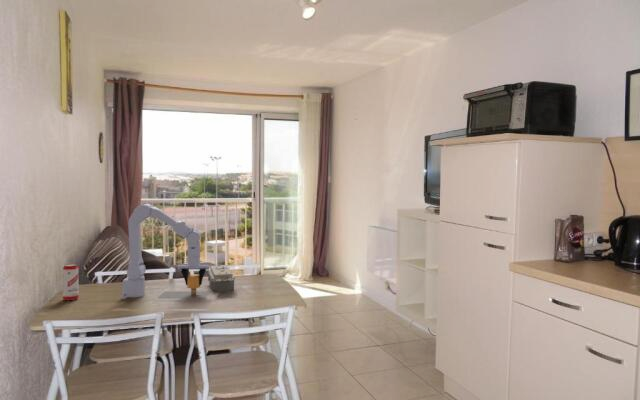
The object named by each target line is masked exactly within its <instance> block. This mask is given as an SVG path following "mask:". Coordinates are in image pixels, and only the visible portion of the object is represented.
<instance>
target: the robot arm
mask: <svg viewBox="0 0 640 400" xmlns="http://www.w3.org/2000/svg"><path fill="white" fill-rule="evenodd" d="M148 218H150V219H158V220H160V221H161V222H163V223H165V224H167V225H168V226H170V227H171V228H172V231H173V232H174V233H176V234H177V235H178V236H180V237H182V238H183V239H186V241H187V264H178V265H177V270H181V271H180V272H181V274H182V276H183V279H184V281H185V285H186V286H187V277H188V275H189V271H190V270H198V275H199V285H200V286H202V283H203V279H204V276H205V274H206V271H208V270H210V266H211V265H210V264H201V240H200V239H201V236H202V235H201V233H200V232H199V230H197V229H195V227H190V226H189V225H188V224H186V221H184V220H183V221H182V220H179V221H178V220H176V219H174V218H172V217H171V216H170V215H168V213H165V212H164V211H163V210H162V209H160V208H158V206H155V205H153V204H151V203H145V204H142V203H141V204H139V205H138V206H136V207H135V208H134V209H133V212H132V214H131V215H130V217H129V218H128V241H129V242H128V243H129V244H128V245H129V261H128V266H127V267H128V268H127V270H126V275H127V278H124V279H123V280H122V284H121V300H126V299H127V298H140V297H144V296H145V294H146V293H145V292H146V291H145V287H146V286H145V285H146V284H145V283H146V282H145V273H146V270H147V269H146V265H145V262H144V259H143V256H142V253H143V252H142V236H141V234H142V233H141V231H142V230H141V224H142V223H143V222H144V221H146V219H148Z"/></svg>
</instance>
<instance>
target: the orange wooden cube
mask: <svg viewBox="0 0 640 400" xmlns="http://www.w3.org/2000/svg"><path fill="white" fill-rule="evenodd" d="M186 288H187V289H191V288H196V289H199V288H201V285H199V273H197V274H196V273H195V274H193V273H192V274H188V277H187V285H186Z"/></svg>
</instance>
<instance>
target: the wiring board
mask: <svg viewBox="0 0 640 400" xmlns="http://www.w3.org/2000/svg"><path fill="white" fill-rule="evenodd" d="M210 294H211V291H197V288H190V291H164V292H163V293H161V294H160V295H159V296H158V297H157V299H206V298H208V296H209V295H210Z"/></svg>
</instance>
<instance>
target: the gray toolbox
mask: <svg viewBox="0 0 640 400" xmlns="http://www.w3.org/2000/svg"><path fill="white" fill-rule="evenodd" d="M207 275H208V277H207V281H208V282H209V283H208V284H209V286H208V287H209V288H210V289H211V291H217V292H218V293H228V292H229V293H230V292H234V291H235V280H236V277H235V276H234V274H233V273H232V270H231V269H230V267H229V266H228V264H222V265H221V264H220V265H210V269H209V270H207Z"/></svg>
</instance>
